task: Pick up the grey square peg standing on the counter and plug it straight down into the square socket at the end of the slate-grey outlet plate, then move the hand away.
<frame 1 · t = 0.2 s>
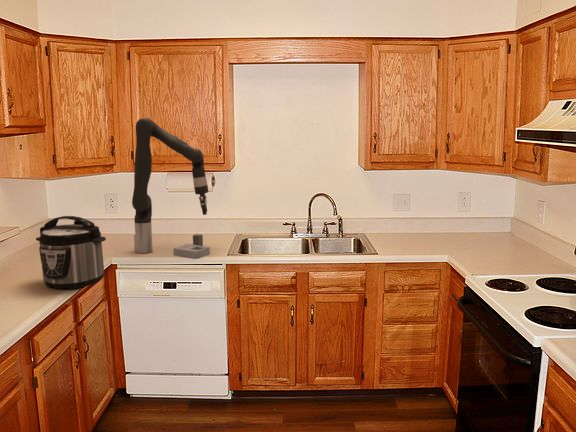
hand: (205, 213, 318), 22 cm above the countertop, fingers open, 8 cm apart
grey square peg: (198, 248, 329), on the countertop
socket plate: (191, 254, 315), on the countertop
pressure cooker: (73, 283, 265), on the countertop
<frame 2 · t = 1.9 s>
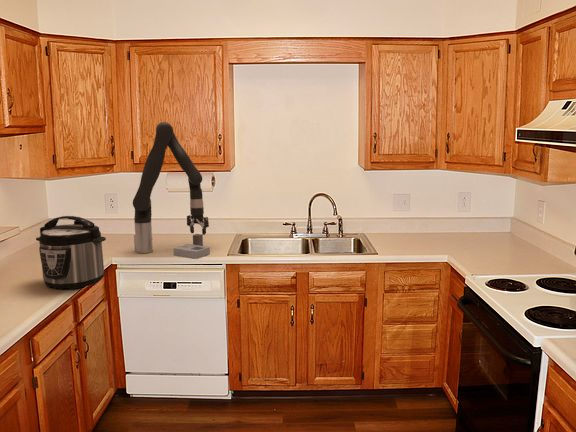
hand: (198, 233, 327), 9 cm above the countertop, fingers open, 8 cm apart
nothing on the countertop moved.
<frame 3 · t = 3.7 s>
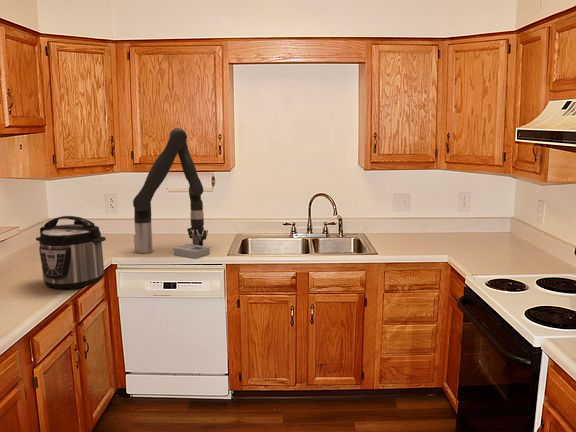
hand: (198, 246, 329), 1 cm above the countertop, fingers closed on grey square peg, 4 cm apart
grey square peg: (198, 248, 329), on the countertop, touching gripper
everything else where it was.
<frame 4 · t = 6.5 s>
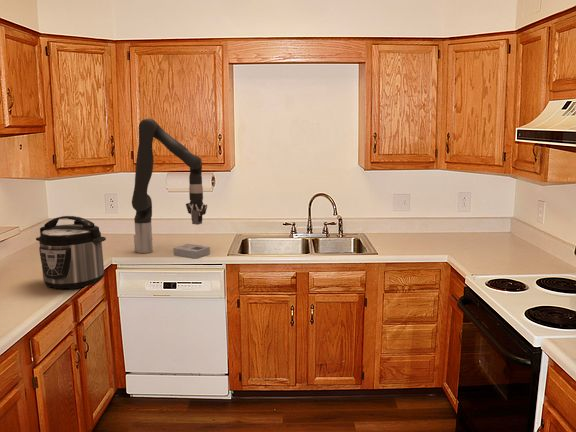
hand: (197, 221, 319), 17 cm above the countertop, fingers closed on grey square peg, 4 cm apart
grey square peg: (197, 223, 320), point 16 cm above the countertop, touching gripper
everything else where it was.
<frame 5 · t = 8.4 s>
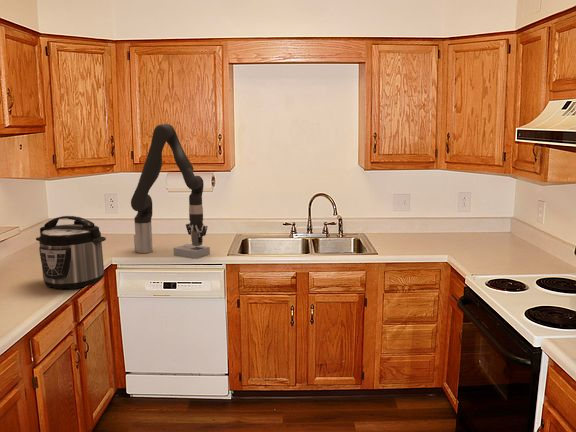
hand: (197, 242, 312), 7 cm above the countertop, fingers closed on grey square peg, 4 cm apart
grey square peg: (197, 245, 312), point 6 cm above the countertop, touching gripper
everything else where it was.
when the fingers open (5 cm above the countertop, at t = 9.6 s): grey square peg drops 2 cm, resting on socket plate.
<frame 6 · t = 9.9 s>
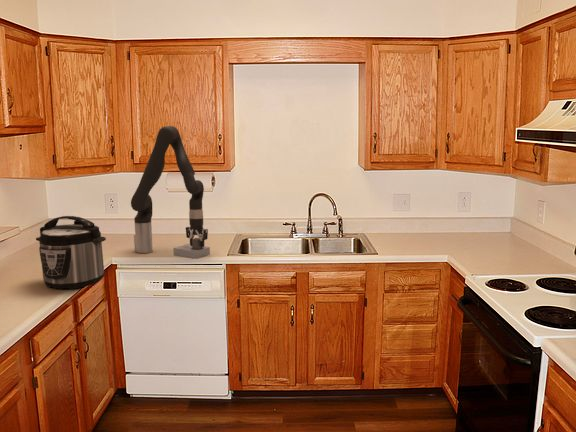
hand: (197, 246, 312), 5 cm above the countertop, fingers open, 6 cm apart
grey square peg: (197, 252, 313), point 1 cm above the countertop, touching socket plate
everything else where it was.
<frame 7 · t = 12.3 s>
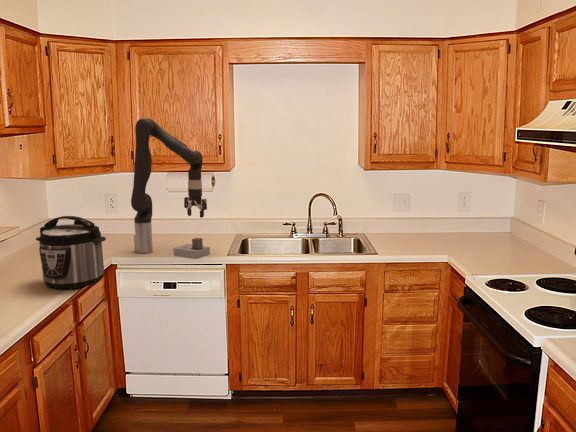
hand: (195, 216, 312), 21 cm above the countertop, fingers open, 8 cm apart
nothing on the countertop moved.
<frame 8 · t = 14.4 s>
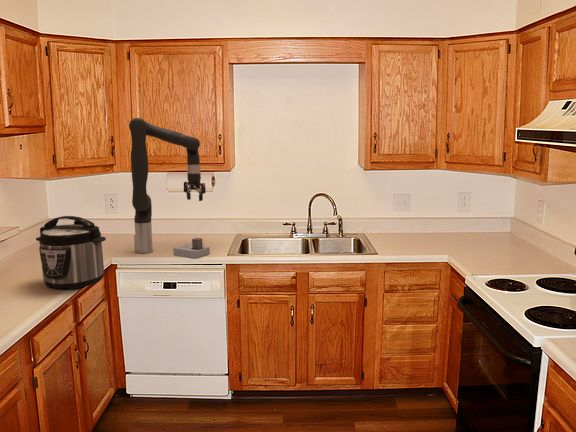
hand: (194, 200, 326), 28 cm above the countertop, fingers open, 8 cm apart
nothing on the countertop moved.
at the end: grey square peg 0.1 cm from the target spot on the socket plate, point 1.5 cm above the socket plate's base; grey square peg tilted 0°; the gripper is holding nothing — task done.
